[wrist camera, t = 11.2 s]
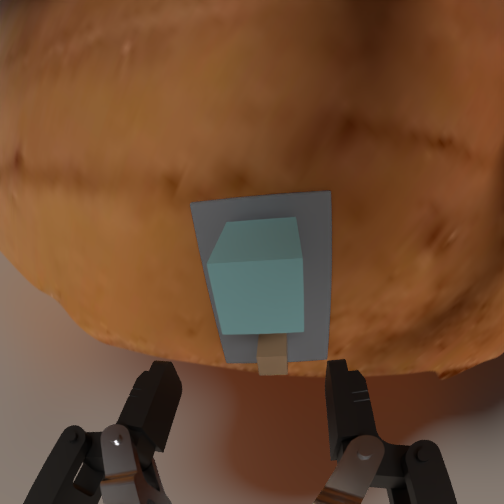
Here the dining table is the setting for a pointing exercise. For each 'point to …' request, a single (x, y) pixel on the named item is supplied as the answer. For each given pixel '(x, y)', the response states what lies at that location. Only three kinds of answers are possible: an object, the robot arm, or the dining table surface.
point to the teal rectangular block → (258, 277)
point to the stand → (314, 274)
